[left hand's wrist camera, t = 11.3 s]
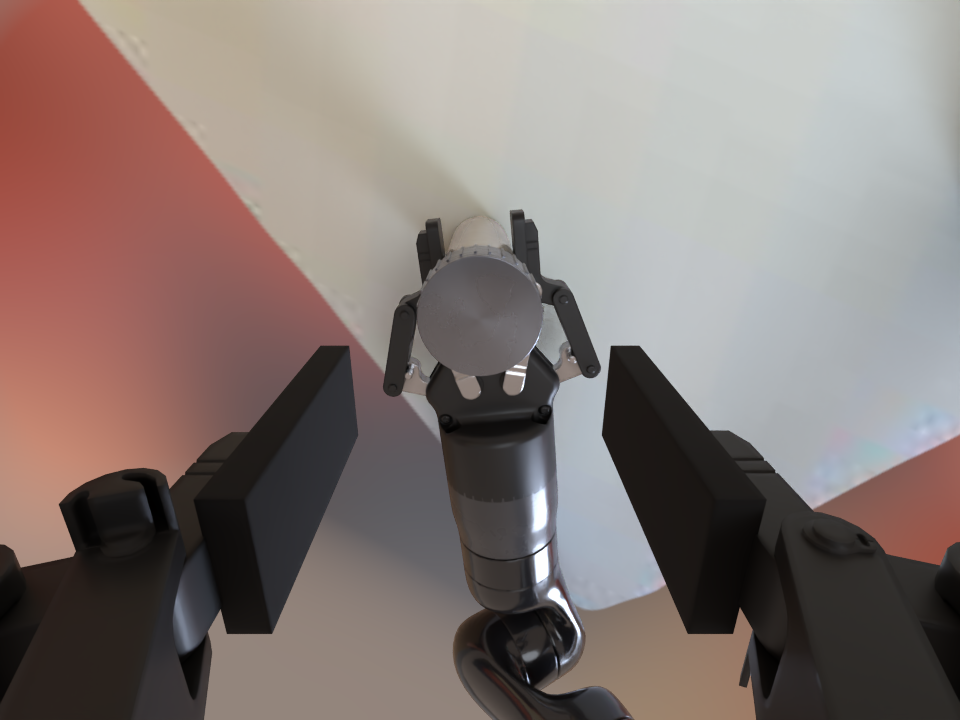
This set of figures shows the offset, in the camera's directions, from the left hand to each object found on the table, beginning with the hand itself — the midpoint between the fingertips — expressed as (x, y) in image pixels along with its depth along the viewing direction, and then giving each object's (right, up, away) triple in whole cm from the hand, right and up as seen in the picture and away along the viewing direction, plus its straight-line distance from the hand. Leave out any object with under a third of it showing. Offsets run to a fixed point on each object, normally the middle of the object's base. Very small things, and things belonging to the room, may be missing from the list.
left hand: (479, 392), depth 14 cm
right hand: (0, +9, +15) cm, 17 cm away
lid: (0, +3, +7) cm, 7 cm away
